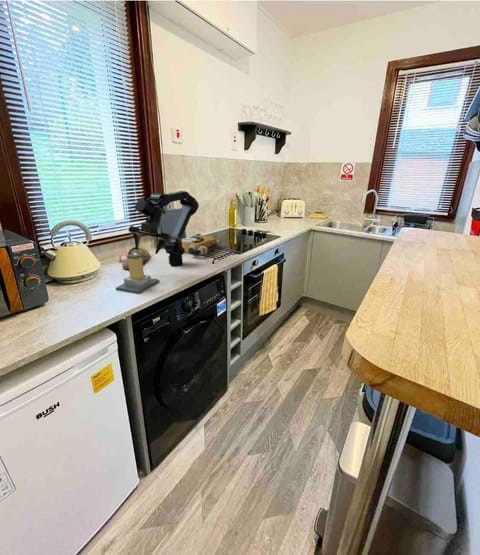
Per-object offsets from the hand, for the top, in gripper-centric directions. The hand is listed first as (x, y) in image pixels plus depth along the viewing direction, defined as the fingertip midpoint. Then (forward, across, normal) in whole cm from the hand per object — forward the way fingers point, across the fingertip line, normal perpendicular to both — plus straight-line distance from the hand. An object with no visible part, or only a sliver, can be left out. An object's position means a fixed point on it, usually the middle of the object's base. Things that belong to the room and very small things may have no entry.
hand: (146, 251), depth 126 cm
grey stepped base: (+16, +2, -5) cm, 17 cm away
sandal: (+5, -13, +27) cm, 30 cm away
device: (-11, +17, +45) cm, 50 cm away
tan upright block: (+15, +2, -5) cm, 16 cm away
